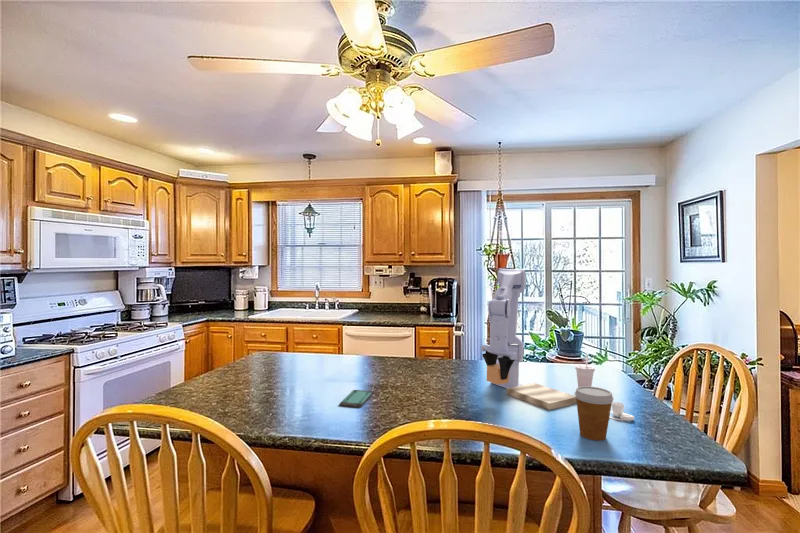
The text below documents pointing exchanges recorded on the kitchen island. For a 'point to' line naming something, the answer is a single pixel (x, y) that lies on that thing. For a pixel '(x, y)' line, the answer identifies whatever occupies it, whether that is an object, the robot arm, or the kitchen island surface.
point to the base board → (542, 395)
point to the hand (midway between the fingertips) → (497, 377)
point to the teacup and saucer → (620, 412)
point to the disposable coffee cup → (593, 411)
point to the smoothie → (584, 374)
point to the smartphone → (356, 399)
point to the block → (495, 374)
